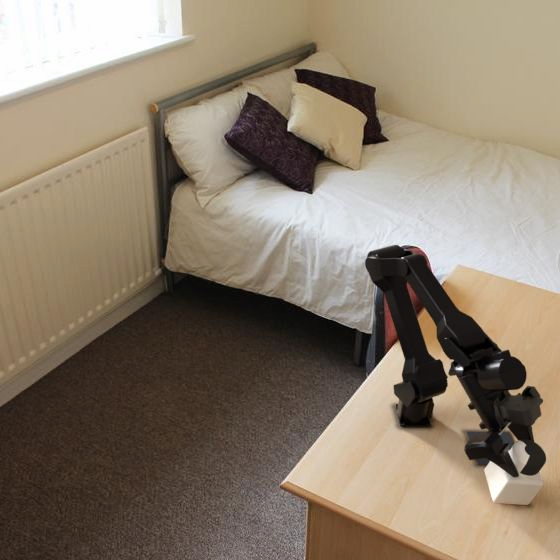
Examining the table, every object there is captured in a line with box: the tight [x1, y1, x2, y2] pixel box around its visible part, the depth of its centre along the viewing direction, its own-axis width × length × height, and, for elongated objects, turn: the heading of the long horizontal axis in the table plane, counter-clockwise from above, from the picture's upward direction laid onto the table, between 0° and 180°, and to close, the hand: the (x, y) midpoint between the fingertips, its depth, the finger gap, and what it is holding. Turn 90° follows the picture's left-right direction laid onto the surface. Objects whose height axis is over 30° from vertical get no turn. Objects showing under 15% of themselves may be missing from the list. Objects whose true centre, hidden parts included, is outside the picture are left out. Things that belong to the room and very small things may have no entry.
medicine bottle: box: [483, 439, 547, 506], centre depth 130 cm, size 7×7×12 cm
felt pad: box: [466, 431, 515, 466], centre depth 144 cm, size 9×9×1 cm
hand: (525, 465), depth 129 cm, fingers closed on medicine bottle, 7 cm apart
